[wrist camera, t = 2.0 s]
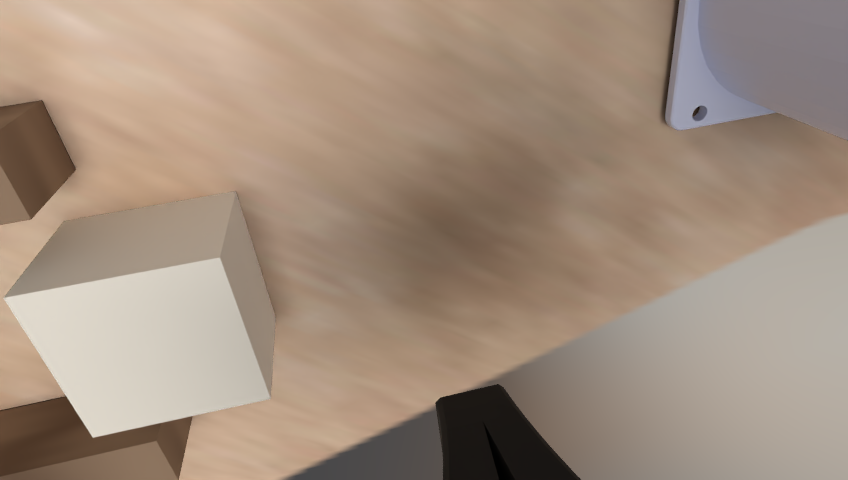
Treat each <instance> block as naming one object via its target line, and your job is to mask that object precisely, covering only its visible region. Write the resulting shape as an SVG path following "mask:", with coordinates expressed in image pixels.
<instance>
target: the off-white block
mask: <svg viewBox="0 0 848 480" xmlns="http://www.w3.org/2000/svg"><path fill="white" fill-rule="evenodd" d="M4 300H5V301H6V303H7V304H8V306H9V308H10V309H11V311H12V312H13V314H14V315H15V317H16V318H17V320H18V322H19V323H20V325H21V326H22V328H23V329H24V331H25V332H26V334H27V336H28V337H29V339H30V340H31V342H32V343H33V345H34V347H35V348H36V350H37V351H38V353H39V354H40V356H41V357H42V359H43V361H44V362H45V364H46V365H47V367H48V368H49V370H50V372H51V373H52V375H53V376H54V378H55V379H56V381H57V382H58V384H59V386H60V387H61V389H62V390H63V392H64V393H65V395H66V397H67V398H68V400H69V401H70V403H71V404H72V406H73V407H74V409H75V411H76V412H77V414H78V415H79V417H80V418H81V420H82V422H83V423H84V425H85V426H86V428H87V429H88V431H89V432H90V434H91V436H92V437H93V438H94V437H99V436H103V435H108V434H112V433H117V432H121V431H126V430H131V429H135V428H140V427H144V426H149V425H154V424H158V423H163V422H167V421H172V420H176V419H181V418H186V417H190V416H195V415H199V414H204V413H209V412H213V411H218V410H222V409H227V408H231V407H236V406H241V405H245V404H250V403H254V402H259V401H264V400H268V399H271V387H272V371H273V355H274V339H275V323H276V316H275V313H274V310H273V307H272V304H271V301H270V297H269V294H268V291H267V288H266V285H265V282H264V279H263V275H262V272H261V269H260V266H259V263H258V260H257V256H256V253H255V250H254V247H253V244H252V241H251V237H250V234H249V231H248V228H247V225H246V222H245V219H244V215H243V212H242V209H241V206H240V203H239V200H238V196H237V193H236V191H233V192H227V193H222V194H216V195H210V196H205V197H199V198H193V199H187V200H182V201H176V202H170V203H164V204H159V205H153V206H147V207H142V208H136V209H130V210H124V211H119V212H113V213H107V214H101V215H96V216H90V217H84V218H79V219H73V220H67V221H64V222H63V223H62V224H61V225H60V227H59V228H58V229H57V231H56V232H55V233H54V234H53V236H52V237H51V238H50V239H49V241H48V242H47V243H46V245H45V246H44V247H43V248H42V250H41V251H40V252H39V253H38V255H37V256H36V257H35V259H34V260H33V261H32V262H31V264H30V265H29V266H28V267H27V269H26V270H25V271H24V272H23V274H22V275H21V276H20V278H19V279H18V280H17V281H16V283H15V284H14V285H13V286H12V288H11V289H10V290H9V292H8V293H7V294H6V295H5V297H4Z"/></svg>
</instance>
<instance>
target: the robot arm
mask: <svg viewBox="0 0 848 480" xmlns="http://www.w3.org/2000/svg"><path fill="white" fill-rule="evenodd" d="M699 106H700V109H699V112H698V113H697V114H696V115H695V116H694V117H692V114H693V112H694V110H695V109H696V108H697V107H699ZM772 113H780V114H782V115H785V116H787V117H790V118H792V119H795V120H797V121H800V122H802V123H805V124H807V125H810V126H812V127H815V128H817V129H820V130H822V131H825V132H827V133H830V134H832V135H835V136H837V137H840V138H842V139H845V140H847V141H848V0H680V1H679V9H678V17H677V25H676V33H675V41H674V49H673V57H672V65H671V73H670V81H669V89H668V97H667V105H666V113H665V119H666V122H667V124H668V125H669V126H671V127H673V128H674V129H676V130H687V129H692V128H697V127H703V126H708V125H713V124H719V123H724V122H729V121H735V120H740V119H745V118H751V117H756V116H761V115H767V114H772ZM435 404H436V411H437V417H438V424H439V430H440V438H441V444H442V452H443V480H581V479H580V478H579V477H578V476H577V475H576V474H575V473H574V472H573V471H572V470H571V469H570V468H569V467H568V465H566V463H565V462H564V461H563V460H562V459H561V458H560V457H559V456H558V455H557V453H555V451H554V450H553V449H552V448H551V447H550V446H549V445H548V444H547V442H546V441H545V440H544V439H543V438H542V437H541V435H540V434H539V433H538V432H537V431H536V429H535V428H534V427H533V426H532V425H531V423H530V422H529V421H528V420H527V418H526V417H525V416H524V415H523V413H522V412H521V411H520V410H519V408H518V407H517V406H516V404H515V403H514V402H513V400H512V399H511V397H510V396H509V395H508V393H507V392H506V390H505V389H504V388H503V387H502V386H500V385H499V384H497V385H493V386H488V387H484V388H480V389H475V390H471V391H467V392H463V393H458V394H454V395H450V396H445V397H441V398H440V399H439V400H438V401H437V402H436V403H435Z"/></svg>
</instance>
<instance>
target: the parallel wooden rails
mask: <svg viewBox="0 0 848 480" xmlns="http://www.w3.org/2000/svg"><path fill="white" fill-rule="evenodd" d="M74 171H75V168H74V166H73V164H72V162H71V160H70V158H69V155H68V153H67V151H66V149H65V147H64V145H63V143H62V141H61V139H60V137H59V135H58V133H57V131H56V129H55V127H54V125H53V123H52V121H51V119H50V117H49V115H48V113H47V110H46V108H45V106H44V104H43V102H42V101H36V102H30V103H23V104H17V105H11V106H5V107H0V225H3V224H8V223H14V222H20V221H25V220H31V219H32V218H33V217H34V216H35V214H36V213H37V212H38V211H39V210H40V209H41V208H42V207H43V206H44V205H45V203H46V202H47V201H48V200H49V199H50V198H51V197H52V196H53V195H54V193H55V192H56V191H57V190H58V189H59V188H60V187H61V186H62V185H63V183H64V182H65V181H66V180H67V179H68V178H69V177H70V176H71V175H72V173H73V172H74ZM191 421H192V416H190V417H186V418H181V419H176V420H172V421H167V422H163V423H158V424H154V425H149V426H144V427H140V428H135V429H131V430H126V431H121V432H117V433H112V434H108V435H103V436H99V437H94V438H93V437H92V436H91V434H90V432H89V431H88V429H87V428H86V426H85V425H84V423H83V422H82V420H81V418H80V417H79V415H78V414H77V412H76V411H75V409H74V407H73V406H72V404H71V403H70V401H69V400H68V398H67V397H63V398H59V399H54V400H49V401H45V402H40V403H36V404H31V405H26V406H22V407H17V408H12V409H8V410H3V411H0V480H179V476H180V471H181V467H182V462H183V457H184V453H185V448H186V444H187V439H188V434H189V430H190V425H191Z"/></svg>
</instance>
